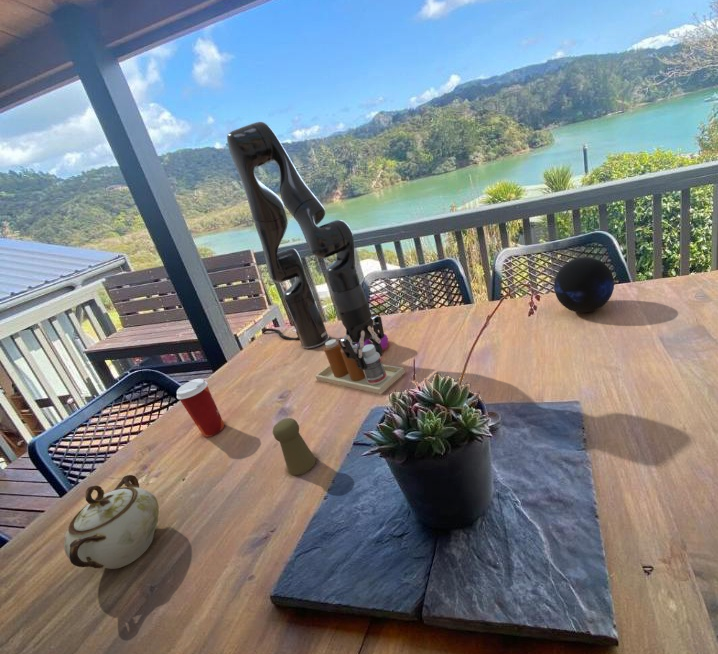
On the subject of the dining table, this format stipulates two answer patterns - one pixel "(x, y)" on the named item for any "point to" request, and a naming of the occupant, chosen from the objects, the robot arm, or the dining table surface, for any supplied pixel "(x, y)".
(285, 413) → the dining table surface
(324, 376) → the tray
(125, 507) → the sugar bowl
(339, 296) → the robot arm
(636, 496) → the dining table surface
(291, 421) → the olive green pawn
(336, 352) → the amber bottle far
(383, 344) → the donut
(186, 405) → the paper cup
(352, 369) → the amber bottle middle
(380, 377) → the pill bottle
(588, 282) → the decorative sphere
